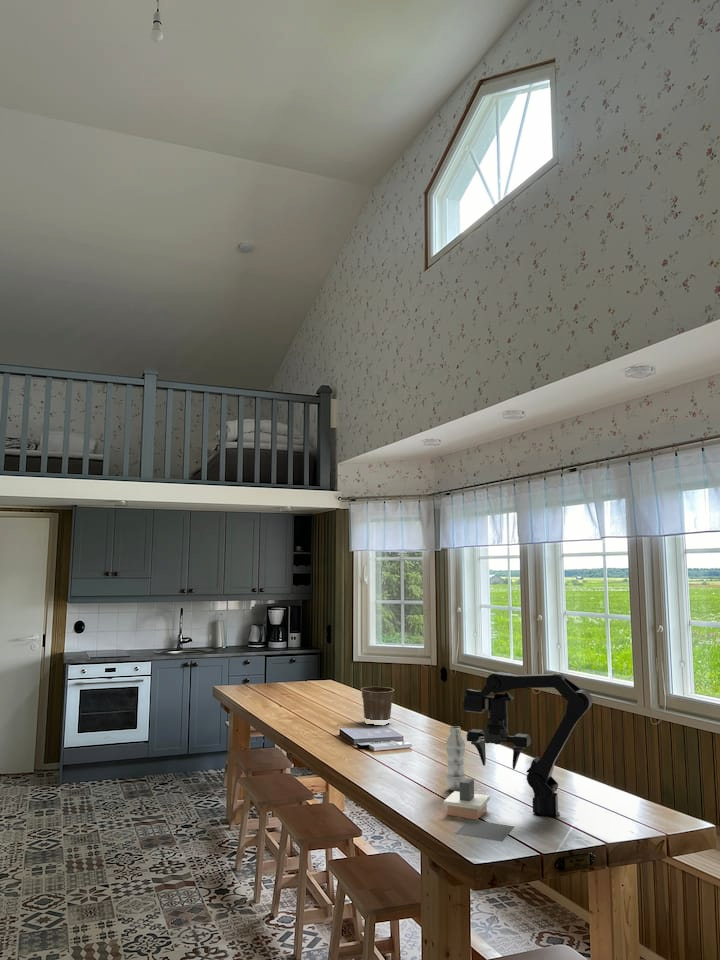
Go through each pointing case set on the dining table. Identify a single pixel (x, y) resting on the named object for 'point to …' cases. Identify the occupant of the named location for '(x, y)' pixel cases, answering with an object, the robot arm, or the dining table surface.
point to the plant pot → (377, 702)
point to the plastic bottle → (455, 759)
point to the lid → (467, 796)
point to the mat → (485, 830)
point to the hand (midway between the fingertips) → (498, 767)
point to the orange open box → (466, 812)
